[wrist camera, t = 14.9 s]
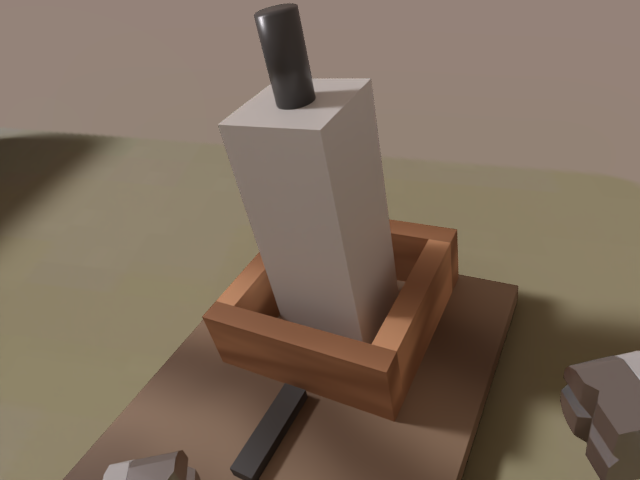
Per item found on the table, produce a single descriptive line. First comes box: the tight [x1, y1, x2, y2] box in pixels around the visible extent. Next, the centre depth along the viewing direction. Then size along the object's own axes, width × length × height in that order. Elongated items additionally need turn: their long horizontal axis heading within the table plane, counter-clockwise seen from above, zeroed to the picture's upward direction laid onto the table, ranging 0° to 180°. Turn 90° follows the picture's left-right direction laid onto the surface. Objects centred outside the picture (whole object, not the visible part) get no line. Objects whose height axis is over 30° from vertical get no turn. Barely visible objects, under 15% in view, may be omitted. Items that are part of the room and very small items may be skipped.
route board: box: [63, 220, 518, 480], centre depth 20 cm, size 20×14×4 cm
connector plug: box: [218, 4, 399, 344], centre depth 20 cm, size 4×4×14 cm
